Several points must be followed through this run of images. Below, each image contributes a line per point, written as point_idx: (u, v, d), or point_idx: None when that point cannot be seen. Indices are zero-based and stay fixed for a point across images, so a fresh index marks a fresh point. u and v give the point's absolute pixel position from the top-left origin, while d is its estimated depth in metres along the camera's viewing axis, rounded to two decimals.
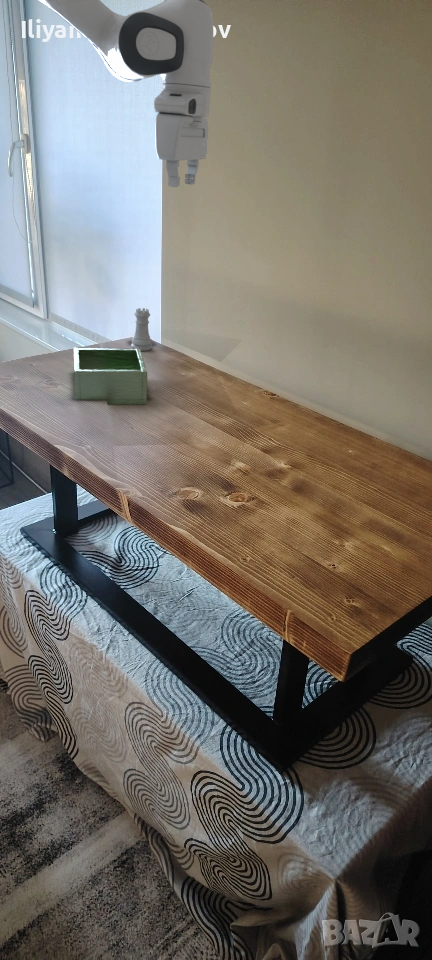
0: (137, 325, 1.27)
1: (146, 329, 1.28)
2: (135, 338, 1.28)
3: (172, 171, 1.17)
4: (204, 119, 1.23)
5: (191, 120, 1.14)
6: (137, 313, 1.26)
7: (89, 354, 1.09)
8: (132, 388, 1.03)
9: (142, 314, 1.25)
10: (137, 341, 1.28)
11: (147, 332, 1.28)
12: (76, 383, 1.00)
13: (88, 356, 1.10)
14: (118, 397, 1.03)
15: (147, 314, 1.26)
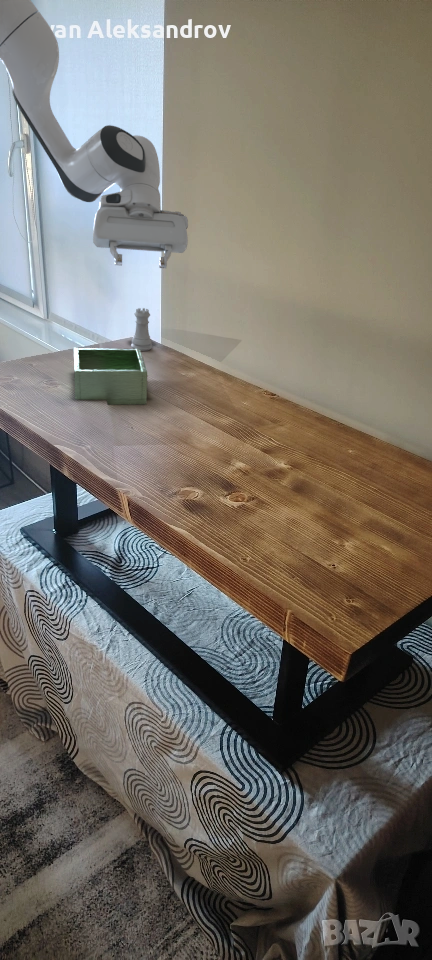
0: (137, 325, 1.27)
1: (146, 329, 1.28)
2: (135, 338, 1.28)
3: (112, 251, 1.32)
4: (170, 214, 1.35)
5: (119, 209, 1.32)
6: (137, 313, 1.26)
7: (89, 354, 1.09)
8: (132, 388, 1.03)
9: (142, 314, 1.25)
10: (137, 341, 1.28)
11: (147, 332, 1.28)
12: (76, 383, 1.00)
13: (88, 356, 1.10)
14: (118, 397, 1.03)
15: (147, 314, 1.26)
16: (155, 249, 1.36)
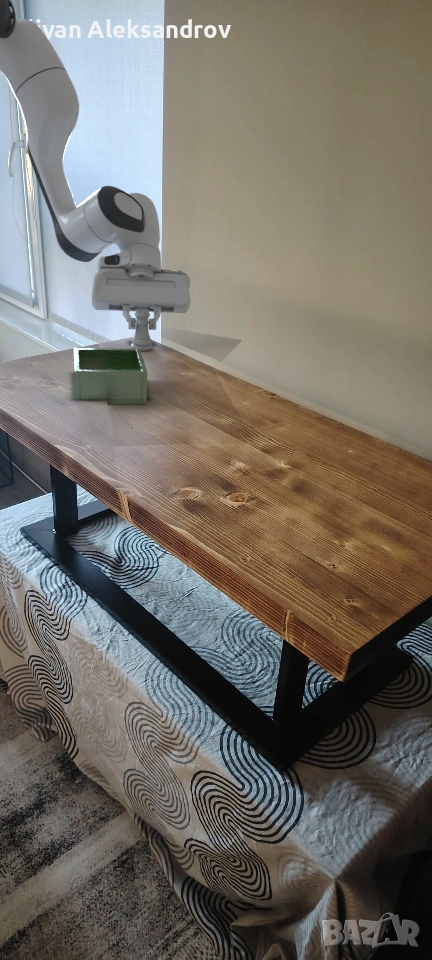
0: (137, 325, 1.27)
1: (146, 329, 1.28)
2: (135, 338, 1.28)
3: (125, 315, 1.28)
4: (172, 274, 1.30)
5: (118, 270, 1.27)
6: (137, 313, 1.26)
7: (89, 354, 1.09)
8: (132, 388, 1.03)
9: (142, 314, 1.25)
10: (137, 341, 1.28)
11: (147, 332, 1.28)
12: (76, 383, 1.00)
13: (88, 356, 1.10)
14: (118, 397, 1.03)
15: (147, 314, 1.26)
16: None
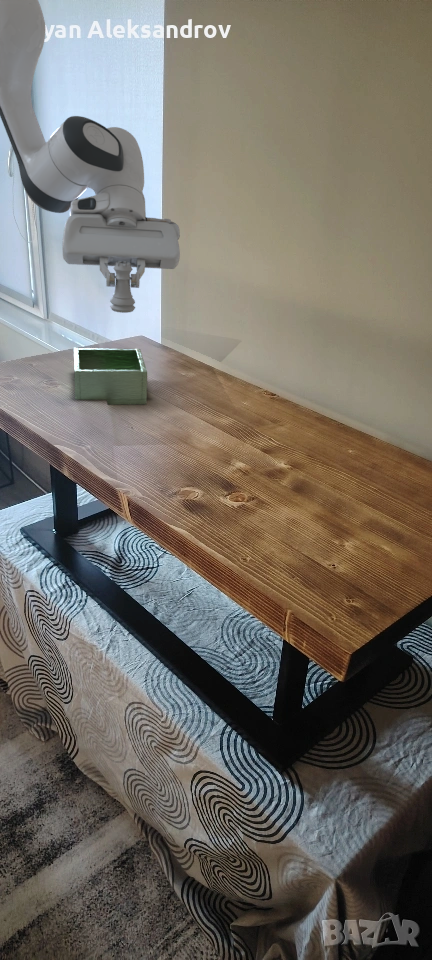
0: (117, 281, 1.07)
1: (127, 286, 1.08)
2: (115, 297, 1.08)
3: (102, 270, 1.08)
4: (158, 222, 1.10)
5: (94, 216, 1.07)
6: (116, 266, 1.06)
7: (89, 354, 1.09)
8: (132, 388, 1.03)
9: (122, 268, 1.05)
10: (117, 301, 1.08)
11: (129, 290, 1.08)
12: (76, 383, 1.00)
13: (88, 356, 1.10)
14: (118, 397, 1.03)
15: (128, 268, 1.06)
16: None
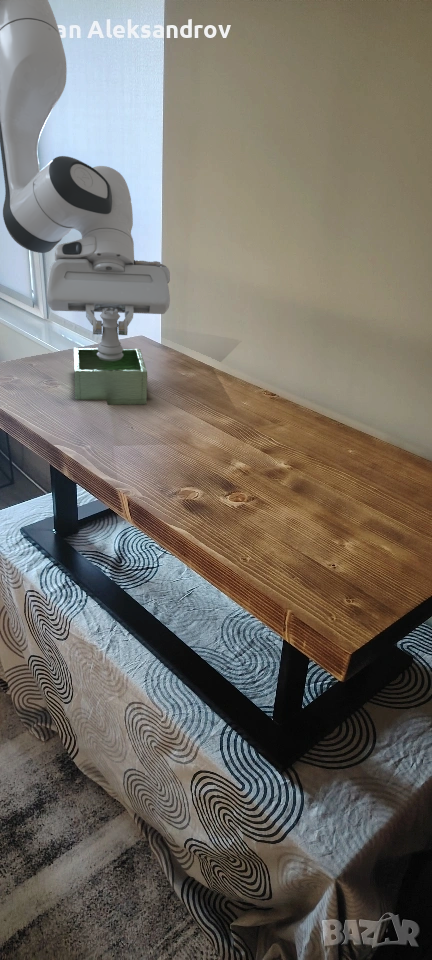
0: (104, 329, 1.02)
1: (115, 334, 1.03)
2: (102, 345, 1.03)
3: (88, 317, 1.03)
4: (147, 266, 1.05)
5: (80, 261, 1.02)
6: (103, 314, 1.01)
7: (89, 354, 1.09)
8: (132, 388, 1.03)
9: (109, 316, 1.01)
10: (104, 349, 1.03)
11: (116, 338, 1.03)
12: (76, 383, 1.00)
13: (88, 356, 1.10)
14: (118, 397, 1.03)
15: (116, 315, 1.01)
16: None
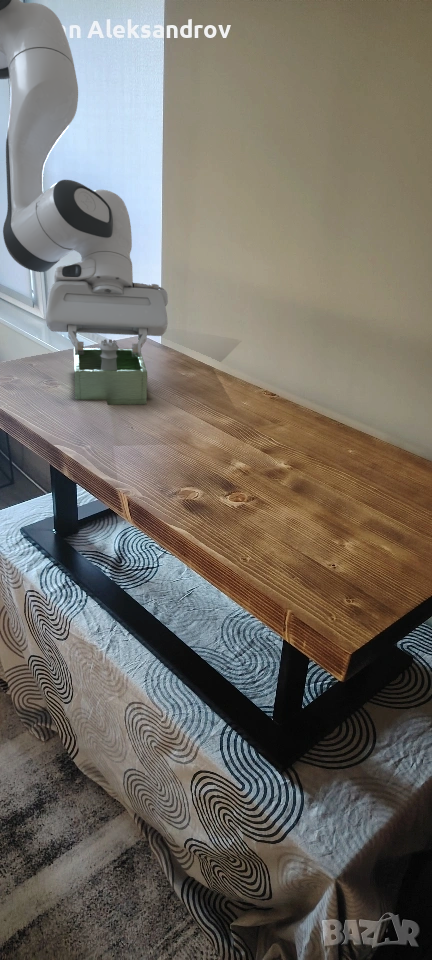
0: (103, 360, 1.05)
1: (114, 365, 1.05)
2: None
3: (70, 338, 1.04)
4: (145, 289, 1.07)
5: (79, 284, 1.04)
6: (102, 346, 1.03)
7: (89, 354, 1.09)
8: (132, 388, 1.03)
9: (108, 347, 1.03)
10: None
11: (115, 368, 1.06)
12: (76, 383, 1.00)
13: (88, 356, 1.10)
14: (118, 397, 1.03)
15: (115, 347, 1.04)
16: (126, 332, 1.07)
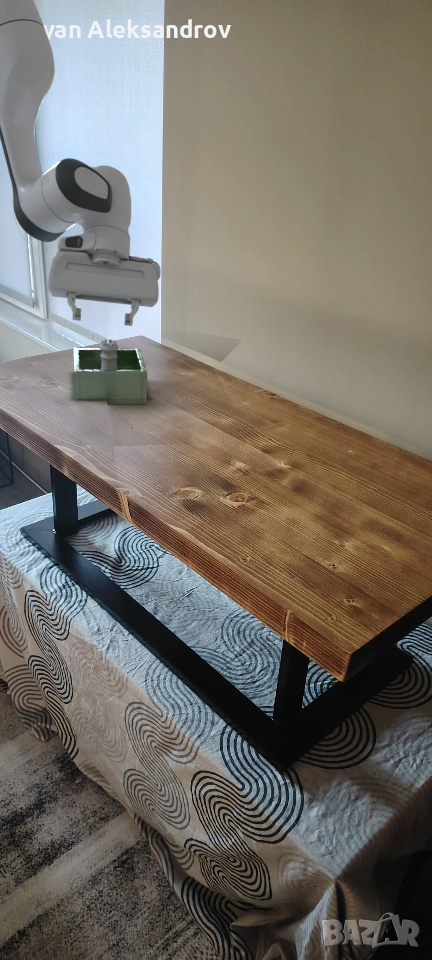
0: (103, 360, 1.05)
1: (114, 365, 1.05)
2: None
3: (69, 304, 1.15)
4: (140, 263, 1.17)
5: (80, 254, 1.14)
6: (102, 346, 1.03)
7: (89, 354, 1.09)
8: (132, 388, 1.03)
9: (108, 347, 1.03)
10: None
11: (115, 368, 1.06)
12: (76, 383, 1.00)
13: (88, 356, 1.10)
14: (118, 397, 1.03)
15: (115, 347, 1.04)
16: (121, 302, 1.18)
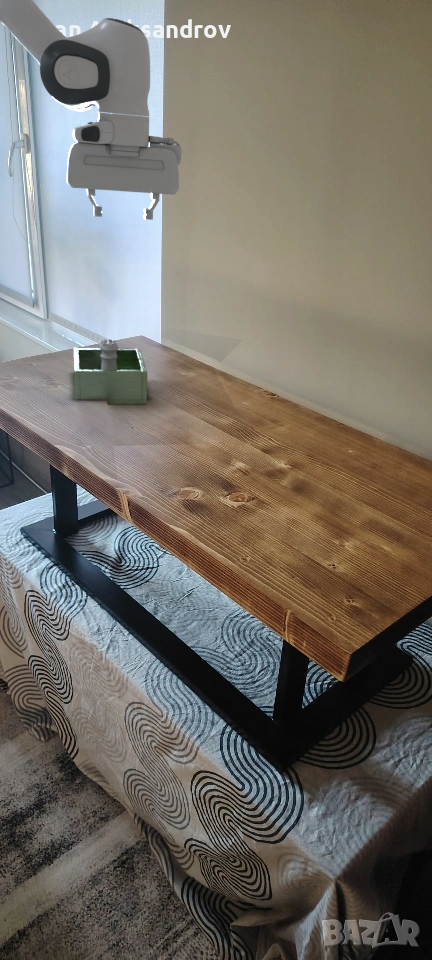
0: (103, 360, 1.05)
1: (114, 365, 1.05)
2: None
3: (90, 200, 1.14)
4: (160, 150, 1.11)
5: (98, 148, 1.08)
6: (102, 346, 1.03)
7: (89, 354, 1.09)
8: (132, 388, 1.03)
9: (108, 347, 1.03)
10: None
11: (115, 368, 1.06)
12: (76, 383, 1.00)
13: (88, 356, 1.10)
14: (118, 397, 1.03)
15: (115, 347, 1.04)
16: None
